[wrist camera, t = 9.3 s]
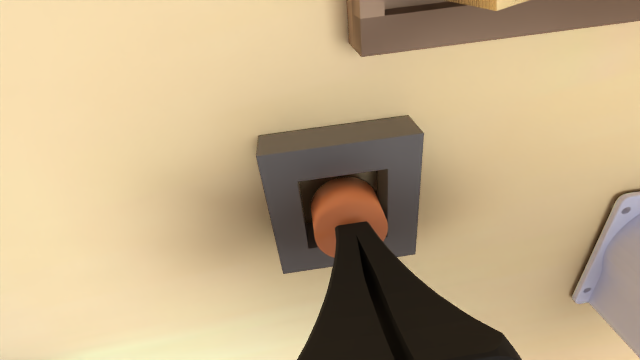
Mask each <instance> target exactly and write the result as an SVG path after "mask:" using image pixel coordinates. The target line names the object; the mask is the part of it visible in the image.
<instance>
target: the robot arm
mask: <svg viewBox="0 0 640 360" xmlns="http://www.w3.org/2000/svg"><path fill="white" fill-rule="evenodd" d="M335 235H336V249H335V257H334V264H333V269H332V273H331V278H330V282H329V286H328V289H327V293H326V296H325V299H324V302H323V305H322V308H321V310H320V313H319V316H318V318H317V321H316V323H315V325H314V327H313V330H312V332H311V334H310V336H309V338H308V340H307V342H306V344H305V346H304V348H303V350H302V352H301V354H300V355H299V357H298V359H297V360H522V359H521V358H520V356H519V355H518V353H517V352H516V350H515V349H514V348H513V346H512V345H511V344H510V342H509V341H508V340H507V339H506V337H505V336H504V335H503V333H501V332H499V331H497V330H495V329H493V328H491V327H490V326H488V325H486V324H484V323H482V322H480V321H478V320H476V319H475V318H473V317H471V316H470V315H468V314H466V313H465V312H463V311H462V310H460V309H459V308H457V307H456V306H454V305H453V304H451V303H450V302H448V301H447V300H446V299H444V298H443V297H441V296H440V295H438V294H437V293H436V292H435V291H433V290H432V289H431V288H430V287H428V286H427V285H426V284H425V283H423V282H422V281H421V280H420V279H419V278H418V277H416V276H415V275H414V274H413V273H412V272H411V271H410V270H409V269H408V268H407V267H406V266H405V265H404V264H403V263H402V262H401V261H400V260H399V259H398V258H397V257H396V256H395V255H394V254H393V253H392V252H391V250H390V249H389V248H388V247H387V246H386V245H385V244H384V242H383V241H382V240H381V239H380V237H379V236H378V235H377V234H376V232H375V231H374V230H373V228H372V227H371V225H370V224H369V223H368V222H367V221H365V222H358V223H351V224H345V225H338V226H336V227H335ZM572 299H573V300H574V302H575V303H577V304H581V303H587V302H588V303H589V304H590V305H591V306H592V307H593V308H594V309H595V310H596V311H597V312H598V314H599V315H600V316H601V317H602V318H603V319H604V320H605V321H606V322H607V323H608V324H609V325H610V327H611V328H612V329H613V330H614V331H615V332H616V333H617V334H618V335H619V336H620V337H621V338H622V340H623V341H624V342H625V343H626V344H627V345H628V346H629V347H630V348H631V349H632V350H633V352H634V353H635V354H636V355H637V356H638V357H639V358H640V191H639V192H632V193H626V194H623V195H621V196H620V197H619V198H618V199H617V200H616V202H615V204H614V206H613V208H612V211H611V213H610V215H609V217H608V219H607V222H606V224H605V226H604V228H603V230H602V232H601V235H600V237H599V239H598V241H597V243H596V245H595V248H594V250H593V252H592V254H591V256H590V258H589V261H588V263H587V265H586V267H585V269H584V271H583V274H582V276H581V278H580V280H579V282H578V284H577V287H576V289H575V291H574V293H573V295H572Z"/></svg>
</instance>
